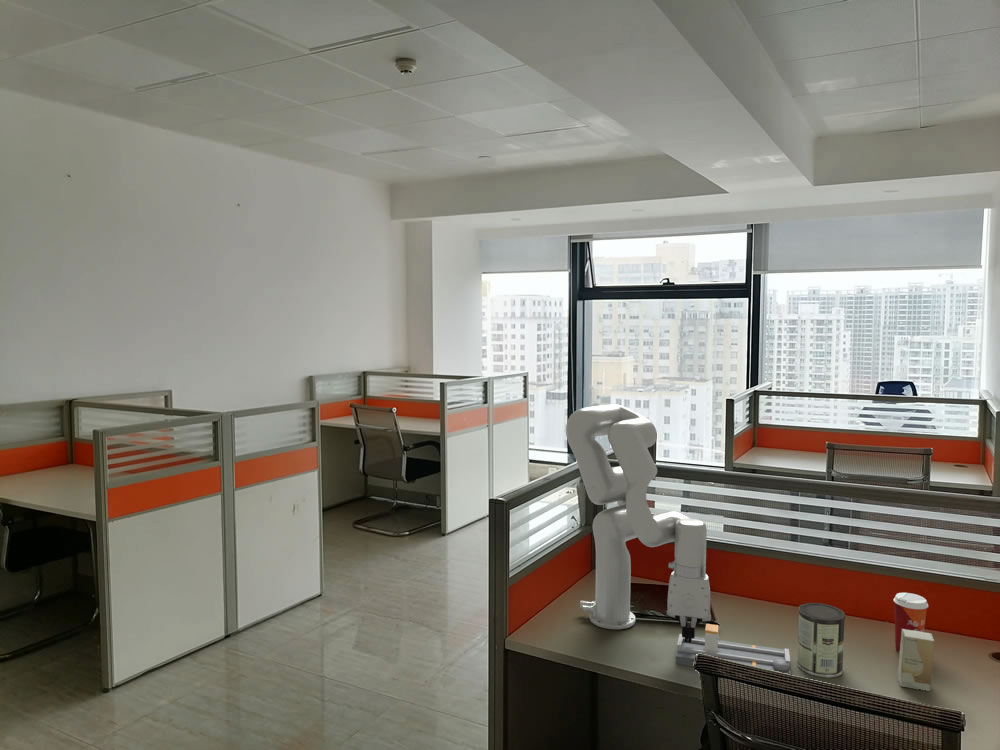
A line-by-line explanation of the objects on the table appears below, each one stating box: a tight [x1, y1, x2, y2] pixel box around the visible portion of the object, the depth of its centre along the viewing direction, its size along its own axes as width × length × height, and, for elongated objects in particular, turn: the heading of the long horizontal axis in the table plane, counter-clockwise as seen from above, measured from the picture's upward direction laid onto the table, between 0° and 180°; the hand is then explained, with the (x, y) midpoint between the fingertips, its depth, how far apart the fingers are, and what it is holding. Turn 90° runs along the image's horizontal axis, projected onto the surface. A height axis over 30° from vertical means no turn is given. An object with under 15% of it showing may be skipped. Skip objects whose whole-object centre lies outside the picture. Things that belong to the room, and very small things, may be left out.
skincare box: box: [897, 629, 935, 692], centre depth 169 cm, size 6×4×12 cm
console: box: [675, 633, 791, 675], centre depth 180 cm, size 26×12×4 cm, turn 71°
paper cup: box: [893, 592, 929, 654], centre depth 185 cm, size 8×8×14 cm
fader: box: [704, 623, 720, 653], centre depth 182 cm, size 3×4×6 cm
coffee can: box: [796, 602, 846, 679], centre depth 177 cm, size 10×10×14 cm
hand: (688, 640), depth 184 cm, fingers closed
